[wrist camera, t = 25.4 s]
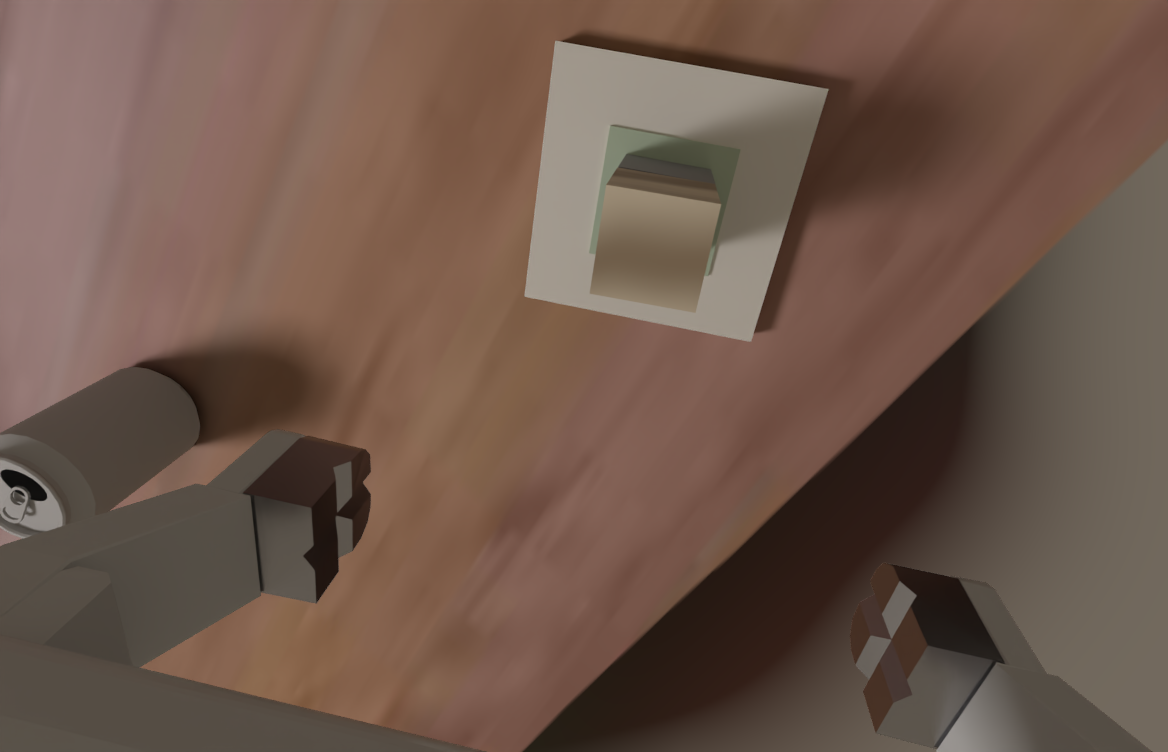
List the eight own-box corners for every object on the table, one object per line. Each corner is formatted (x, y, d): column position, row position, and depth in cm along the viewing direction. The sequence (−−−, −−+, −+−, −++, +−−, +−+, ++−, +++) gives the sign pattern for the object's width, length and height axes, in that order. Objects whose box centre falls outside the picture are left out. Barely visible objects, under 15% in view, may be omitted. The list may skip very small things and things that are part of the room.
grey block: (626, 153, 34) (618, 166, 29) (711, 169, 33) (715, 184, 29) (611, 237, 36) (601, 260, 31) (690, 252, 35) (692, 278, 31)
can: (219, 396, 46) (81, 493, 36) (194, 464, 50) (61, 571, 39) (125, 343, 45) (-46, 426, 35) (106, 415, 49) (-55, 512, 38)
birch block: (617, 167, 29) (606, 184, 25) (715, 183, 29) (721, 204, 24) (602, 262, 31) (589, 293, 27) (693, 278, 31) (695, 312, 27)
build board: (559, 41, 33) (554, 40, 32) (823, 88, 32) (829, 89, 31) (528, 290, 39) (523, 297, 38) (749, 334, 39) (751, 343, 37)
